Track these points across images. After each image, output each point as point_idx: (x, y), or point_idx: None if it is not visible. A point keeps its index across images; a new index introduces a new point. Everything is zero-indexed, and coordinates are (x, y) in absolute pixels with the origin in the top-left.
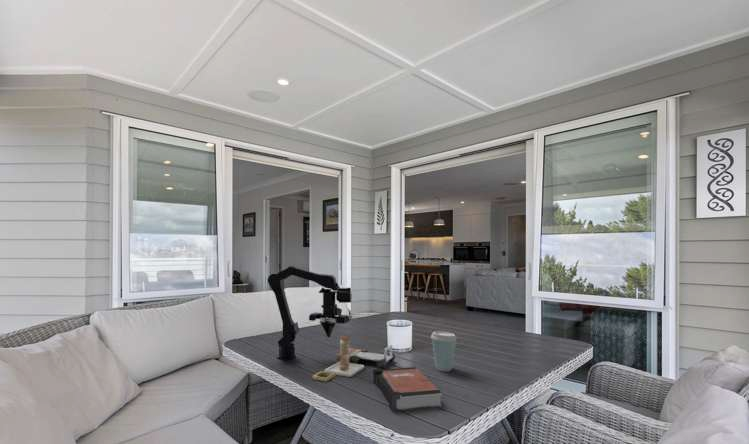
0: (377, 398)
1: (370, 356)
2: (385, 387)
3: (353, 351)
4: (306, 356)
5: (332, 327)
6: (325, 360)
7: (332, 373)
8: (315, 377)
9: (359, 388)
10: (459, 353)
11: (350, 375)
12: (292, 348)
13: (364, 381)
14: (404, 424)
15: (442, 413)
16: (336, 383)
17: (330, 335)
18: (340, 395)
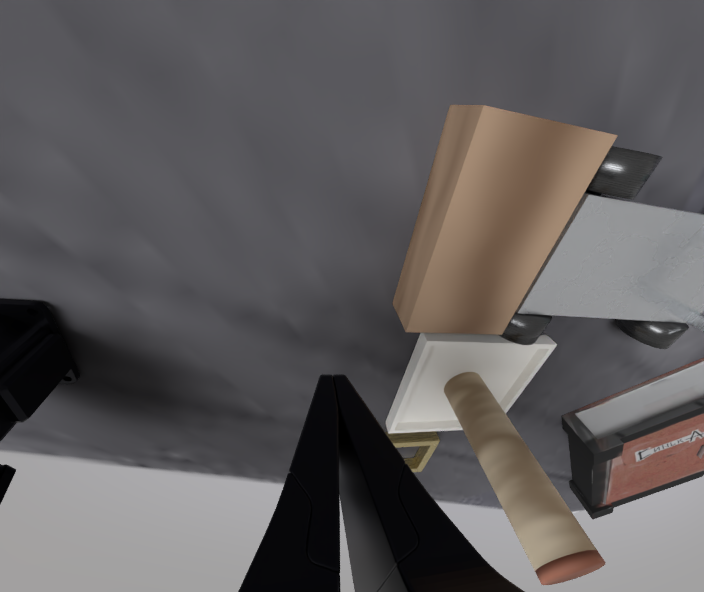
0: (553, 470)
1: (630, 289)
2: (590, 490)
3: (528, 220)
4: (116, 268)
5: (420, 520)
6: (315, 301)
7: (430, 444)
8: None
9: None
10: None
11: None
12: (19, 411)
13: (533, 424)
14: (578, 500)
15: None
16: (450, 457)
17: (351, 388)
18: (471, 487)
